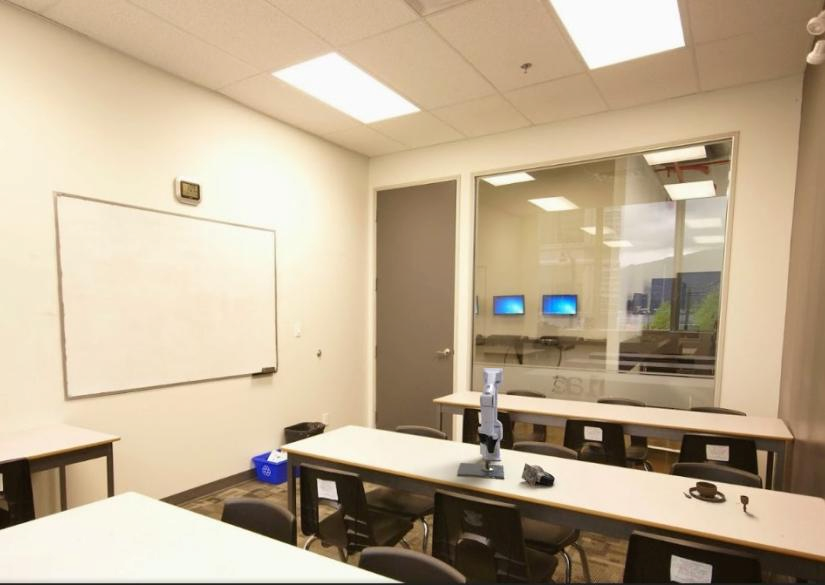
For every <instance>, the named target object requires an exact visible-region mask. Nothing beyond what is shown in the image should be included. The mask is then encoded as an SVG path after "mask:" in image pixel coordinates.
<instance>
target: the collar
mask: <svg viewBox="0 0 825 585" xmlns="http://www.w3.org/2000/svg"><path fill="white" fill-rule="evenodd" d="M479 447H480V448H479V454H480V455H482V456H483V457H484V456H485V457H494V456H497V445H495V449H494V453H489V452H488V444H487V442H480V441H479Z"/></svg>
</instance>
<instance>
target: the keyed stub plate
mask: <svg viewBox="0 0 825 585" xmlns="http://www.w3.org/2000/svg"><path fill="white" fill-rule="evenodd" d="M504 471H505V470H504V465H499V464H491V460H485V464H484V463H469V462H467V463H466V462H460V463H459V468H458V471H457V476H458V477H468V476H475V477H474V478H483V477H494V478H493V479H498V478H504V479H505V472H504Z"/></svg>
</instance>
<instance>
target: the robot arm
mask: <svg viewBox="0 0 825 585" xmlns="http://www.w3.org/2000/svg"><path fill="white" fill-rule="evenodd" d="M482 379H483V384H484V386H483V388H482V393H481V394H480V395H479V405H480V416H481V417H480V418H481V419H480V420H481V421H480V424H481V426H478V428H477V431H478V433H477V434H476V435H477V437H478V438H479V443H480V442H487V444H488V452H489V453H494V449H495V445H497V456H494V457H485V456H483V457H484V458H483V460H485V461H501V462H502V456H501V445H500V444H501V441H502V439H503V434H504V433H503V431H504V430H503V424H502V422H501V421H500V420H498V399H499V398H498V395H499V394H498V393H499V387H501V386H502V385H503V382H504V370H503V368H501V367H500V368H496V367H495V368H493V367H492V368H491V367H483V369H482Z"/></svg>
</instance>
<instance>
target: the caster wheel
mask: <svg viewBox="0 0 825 585" xmlns="http://www.w3.org/2000/svg"><path fill="white" fill-rule="evenodd" d="M521 478H522V480H524V481H526V482H528V484H529V483H530V484H531V485H532V484H533V486H535V485H536V482H538V483H542V484H543V485H547V486H554V482H555V479H556V477H554V475H553V474H551V473H549V472H548V471H544V468H543V467H541V466H540V465H536V464H533V465H530V464H528V463H526V462H525V463H524V467H523V471H522V474H521Z"/></svg>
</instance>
